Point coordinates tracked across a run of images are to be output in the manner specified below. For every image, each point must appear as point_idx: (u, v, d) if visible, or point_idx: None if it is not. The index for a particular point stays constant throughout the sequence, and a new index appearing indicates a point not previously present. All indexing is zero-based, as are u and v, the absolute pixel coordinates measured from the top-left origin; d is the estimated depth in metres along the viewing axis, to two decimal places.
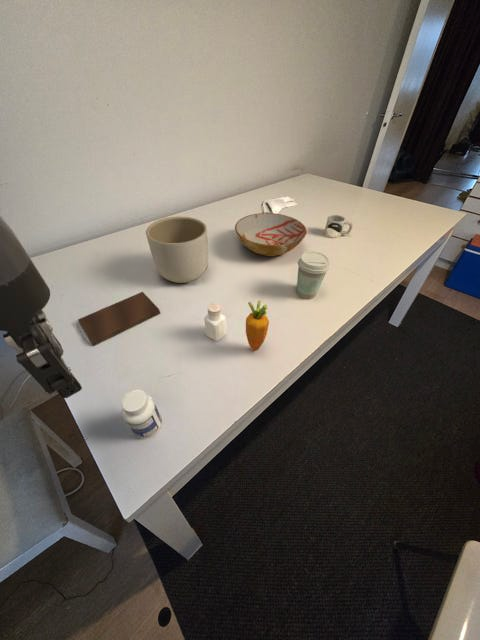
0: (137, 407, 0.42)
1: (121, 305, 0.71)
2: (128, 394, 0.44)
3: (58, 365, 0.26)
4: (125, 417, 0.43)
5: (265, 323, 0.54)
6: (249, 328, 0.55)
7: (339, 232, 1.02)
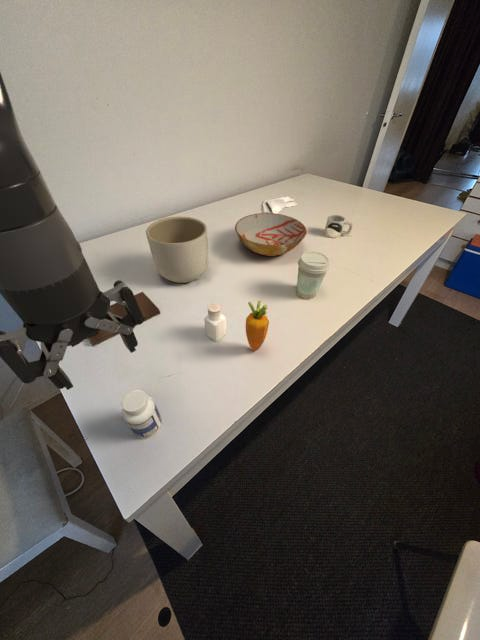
0: (137, 407, 0.42)
1: (121, 305, 0.71)
2: (128, 394, 0.44)
3: (8, 365, 0.26)
4: (125, 417, 0.43)
5: (265, 323, 0.54)
6: (249, 328, 0.55)
7: (339, 232, 1.02)
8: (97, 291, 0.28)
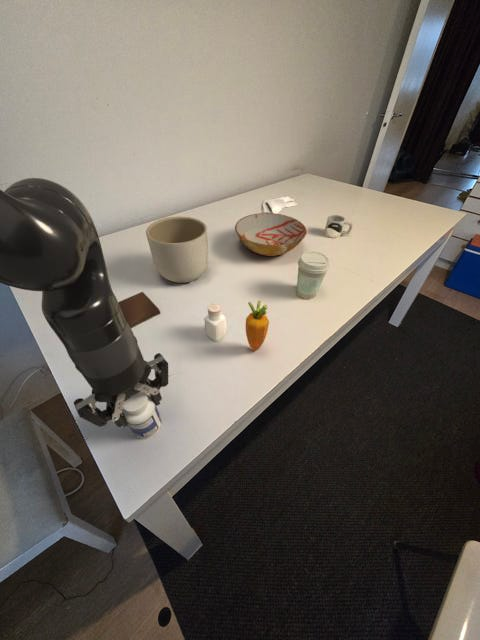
0: (137, 407, 0.42)
1: (121, 305, 0.71)
2: None
3: (88, 420, 0.37)
4: (125, 417, 0.43)
5: (265, 323, 0.54)
6: (249, 328, 0.55)
7: (339, 232, 1.02)
8: (144, 366, 0.37)
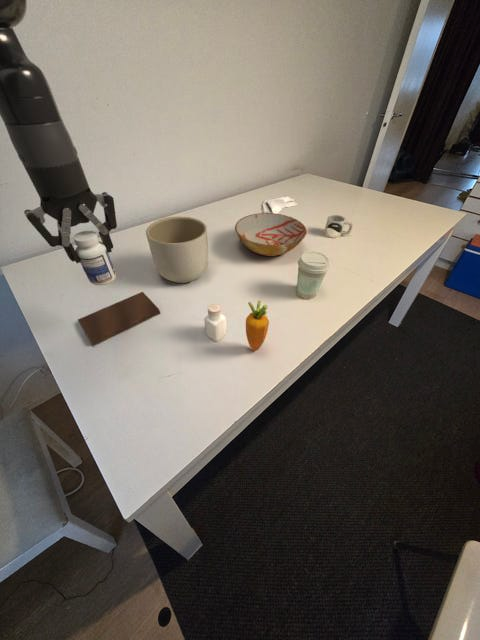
0: (87, 238, 0.47)
1: (121, 305, 0.71)
2: (80, 232, 0.49)
3: None
4: (77, 252, 0.49)
5: (265, 323, 0.54)
6: (249, 328, 0.55)
7: (339, 232, 1.02)
8: (87, 185, 0.43)
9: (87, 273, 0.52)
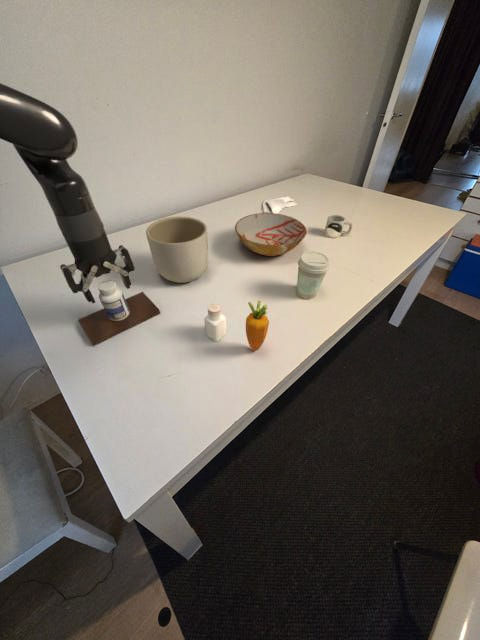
0: (108, 288, 0.61)
1: None
2: (103, 282, 0.63)
3: (67, 280, 0.55)
4: (100, 297, 0.62)
5: (265, 323, 0.54)
6: (249, 328, 0.55)
7: (339, 232, 1.02)
8: (110, 247, 0.56)
9: (107, 312, 0.65)
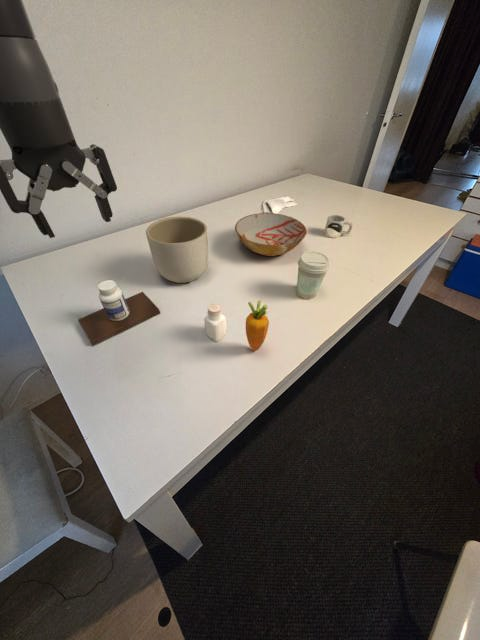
0: (108, 288, 0.61)
1: None
2: (103, 282, 0.63)
3: None
4: (100, 297, 0.62)
5: (265, 323, 0.54)
6: (249, 328, 0.55)
7: (339, 232, 1.02)
8: (72, 136, 0.34)
9: (107, 312, 0.65)
